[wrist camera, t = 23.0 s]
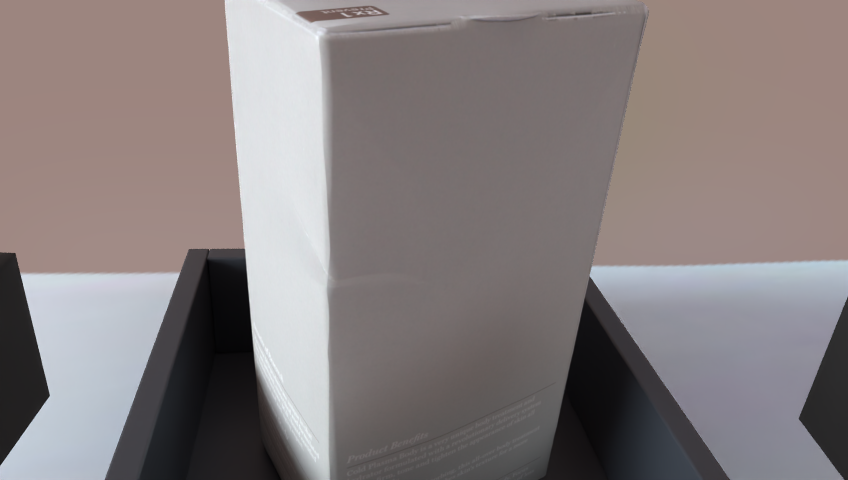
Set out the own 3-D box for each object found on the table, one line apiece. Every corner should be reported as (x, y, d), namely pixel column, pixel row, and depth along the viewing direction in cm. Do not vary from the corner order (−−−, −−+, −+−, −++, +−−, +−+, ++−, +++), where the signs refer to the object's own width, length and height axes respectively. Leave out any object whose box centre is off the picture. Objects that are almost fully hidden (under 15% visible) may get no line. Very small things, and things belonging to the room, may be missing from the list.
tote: (551, 347, 31) (569, 245, 29) (730, 706, 18) (793, 569, 15) (200, 357, 29) (188, 248, 27) (91, 779, 15) (47, 632, 13)
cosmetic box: (449, 376, 28) (490, -43, 20) (565, 501, 22) (677, -9, 15) (244, 444, 24) (206, -49, 16) (325, 616, 18) (323, -5, 11)
